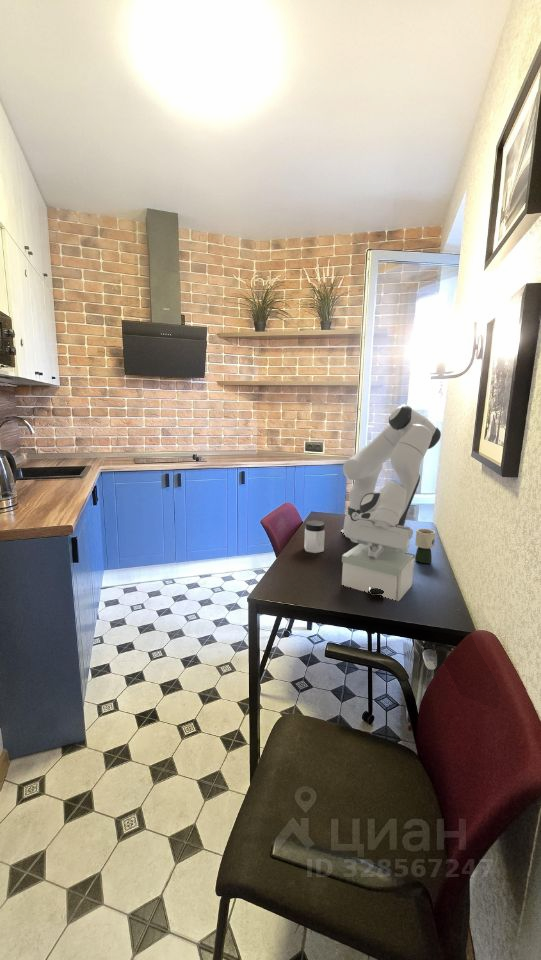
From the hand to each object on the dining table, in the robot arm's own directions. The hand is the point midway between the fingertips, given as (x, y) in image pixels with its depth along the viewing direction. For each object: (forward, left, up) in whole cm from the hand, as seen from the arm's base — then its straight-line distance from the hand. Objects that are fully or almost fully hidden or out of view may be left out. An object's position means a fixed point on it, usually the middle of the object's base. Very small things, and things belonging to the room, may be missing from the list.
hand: (371, 557), depth 137 cm
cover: (-5, 0, -3) cm, 6 cm away
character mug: (-39, +7, -12) cm, 42 cm away
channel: (-6, 0, -12) cm, 14 cm away
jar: (-24, -35, -12) cm, 44 cm away
